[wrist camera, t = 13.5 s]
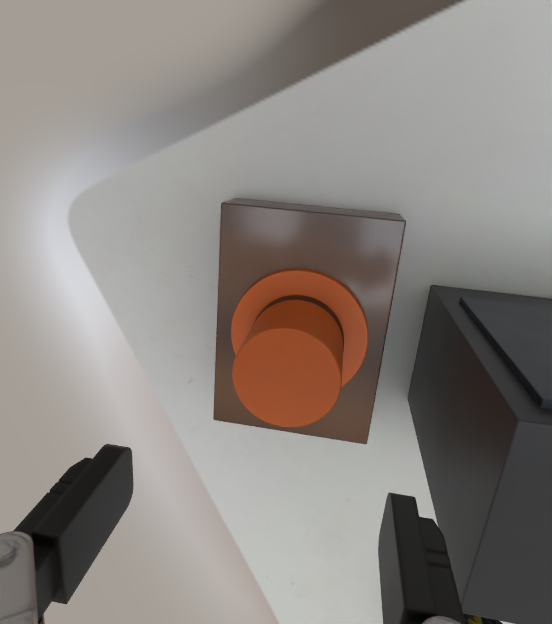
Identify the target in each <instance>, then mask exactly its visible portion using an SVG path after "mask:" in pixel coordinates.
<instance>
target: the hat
mask: <svg viewBox="0 0 552 624" xmlns="http://www.w3.org/2000/svg"><path fill="white" fill-rule="evenodd" d="M231 339H232V345H233V349H234V352H235V355H236V357H235V360H234V363H233V368H232V379H233V384H234V388H235V391H236V393H237V396H238V397H239V399H240V401H241V402H242V403H243V405H244V406H245V407H246V408H247V409H248V410H249V411H250V412H251V413H252V414H253V415H255V416H256V417H258V418H259V419H261V420H263V421H265V422H267V423H270V424H273V425H277V426H282V427H300V426H305V425H308V424H311V423H314V422H316V421H317V420H319V419H321V418H322V417H324V416H325V415H326V414H327V413H328V412H329V411H330V410H331V409H332V408H333V407H334V405H335V403H336V402H337V400H338V397H339V395H340V391H341V387H342V386H344V385H345V384H346V383H348V382H349V381H350V380H351V379H352V378H353V377H354V375H355V374H356V373H357V372H358V370H359V368H360V367H361V365H362V363H363V361H364V358H365V356H366V352H367V348H368V326H367V321H366V317H365V314H364V311H363V309H362V307H361V305H360V303H359V302H358V300H357V299H356V297H355V296H354V295H353V294H352V292H351V291H350V290H349V289H348V288H347V287H345V286H344V285H343V284H342V283H341V282H339V281H338V280H336V279H335V278H333V277H331V276H329V275H327V274H324V273H321V272H318V271H315V270H310V269H300V268H295V269H285V270H280V271H277V272H274V273H271V274H269V275H267V276H265V277H263V278H261V279H260V280H258V281H257V282H256V283H254V284H253V285H252V286H251V287H250V288H249V289H248V290H247V291H246V293H245V294H244V295H243V296H242V298H241V299H240V301H239V303H238V304H237V307H236V309H235V311H234V314H233V318H232V324H231Z"/></svg>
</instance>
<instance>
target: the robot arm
mask: <svg viewBox="0 0 552 624" xmlns="http://www.w3.org/2000/svg"><path fill="white" fill-rule="evenodd" d="M132 493H133V466H132V451H131V449H130V448H128V447H123V446H117V445H110V444H106V445H104V446H103V447H102V448H101V449H100V451H99V452H98V453H97V454H96V456H95V457H94V458H93V459H91V458H84V459H83V460H81V461H80V462H78V463H76V464H75V465H73V466H72V467H70V468H69V469H68V470H67V472H66V473H65V474H64V475H63V476H62V477H61V478H60V479H59V482H57V483H56V484H55V485H54V486H53V487H52V488H51V489H50V492H49V493H47V494H46V495H45V496H44V497H43V498H42V500H41V501H40V502H39V503H38V504H37V505H36V506H35V508H33V510H32V511H31V512H30V513H29V514H28V515H27V516H26V517H25V519H24V520H23V521H22V522H21V523H20V524H19V525H18V526H17V527H16V529H15V530H14V531H12V532H6V533H2V534H0V624H44V612H45V611H46V609H47V608H48V606H49V604H50V603H51V602H52V601H53V602H58V603H62V604H67V603H68V601H69V600H70V598H71V596H72V595H73V593H74V592H75V590H76V588H77V587H78V585H79V584H80V582H81V581H82V579H83V577H84V576H85V574H86V573H87V571H88V569H89V568H90V566H91V565H92V563H93V561H94V560H95V558H96V557H97V555H98V553H99V552H100V550H101V549H102V547H103V545H104V544H105V542H106V541H107V539H108V538H109V536H110V534H111V533H112V531H113V530H114V528H115V526H116V525H117V523H118V522H119V520H120V518H121V517H122V515H123V514H124V512H125V510H126V509H127V507H128V505H129V503H130V500H131V497H132ZM378 555H379V569H380V583H381V597H382V611H383V624H466V623H465V619H464V615H463V611H462V607H461V603H460V599H459V595H458V591H457V587H456V583H455V579H454V575H453V571H452V569H451V563H450V558H449V555H448V550H447V546H446V542H445V538H444V535H443V533H442V532H441V531H440V529H439V528H438V526H437V525H436V523H435V522H434V521H433V519H428V518H423V517H419V514H418V509H417V504H416V499H415V497H412V496H406V495H400V494H394V493H388V496H387V500H386V505H385V509H384V514H383V519H382V524H381V529H380V534H379V546H378Z"/></svg>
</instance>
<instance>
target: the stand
mask: <svg viewBox="0 0 552 624" xmlns="http://www.w3.org/2000/svg"><path fill="white" fill-rule="evenodd" d="M405 225H406V221H405V220H404V219H403V217H402V216H401V215H400V214H392V213H382V212H372V211H361V210H351V209H341V208H331V207H320V206H310V205H300V204H290V203H280V202H269V201H259V200H249V199H239V198H234V199H231V200H228V201H226V202H223V203H222V204H221V227H220V254H219V282H218V309H217V337H216V364H215V391H214V420H218V421H224V422H230V423H237V424H243V425H249V426H255V427H261V428H268V429H274V430H280V431H286V432H293V433H299V434H305V435H311V436H317V437H324V438H330V439H336V440H342V441H349V442H355V443H361V444H367V440H368V435H369V429H370V423H371V418H372V412H373V406H374V401H375V395H376V389H377V384H378V378H379V372H380V367H381V361H382V355H383V350H384V344H385V338H386V333H387V327H388V321H389V316H390V310H391V305H392V299H393V293H394V288H395V282H396V276H397V271H398V265H399V259H400V254H401V248H402V242H403V237H404V231H405ZM295 268H300V269H310V270H315V271H318V272H321V273H324V274H327V275H329V276H331V277H333V278H335V279H336V280H338V281H339V282H341V283H342V284H343V285H344V286H345V287H347V288H348V289H349V290H350V291H351V292H352V294H353V295H354V296H355V297H356V299H357V300H358V302H359V303H360V305H361V307H362V309H363V311H364V314H365V317H366V321H367V326H368V348H367V352H366V356H365V358H364V361H363V363H362V365H361V367H360V368H359V370H358V372H357V373H356V374H355V375H354V377H353V378H352V379H351V380H350V381H349V382H348V383H346V384H345V385H344V386H342V387H341V391H340V395H339V397H338V400H337V402H336V403H335V405H334V407H333V408H332V409H331V410H330V411H329V412H328V413H327V414H326V415H325V416H324V417H322V418H321V419H319V420H317V421H316V422H314V423H311V424H308V425H305V426H300V427H282V426H277V425H273V424H270V423H267V422H265V421H263V420H261V419H259V418H258V417H256V416H255V415H253V414H252V413H251V412H250V411H249V410H248V409H247V408H246V407H245V406H244V405H243V403H242V402H241V401H240V399H239V397H238V396H237V393H236V391H235V388H234V384H233V379H232V368H233V363H234V360H235V357H236V355H235V352H234V349H233V345H232V339H231V324H232V318H233V314H234V311H235V309H236V307H237V304H238V303H239V301H240V299H241V298H242V296H243V295H244V294H245V293H246V291H247V290H248V289H249V288H250V287H251V286H252V285H253V284H254V283H256V282H257V281H258V280H260V279H261V278H263V277H265V276H267V275H269V274H271V273H274V272H277V271H280V270H285V269H295Z"/></svg>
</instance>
